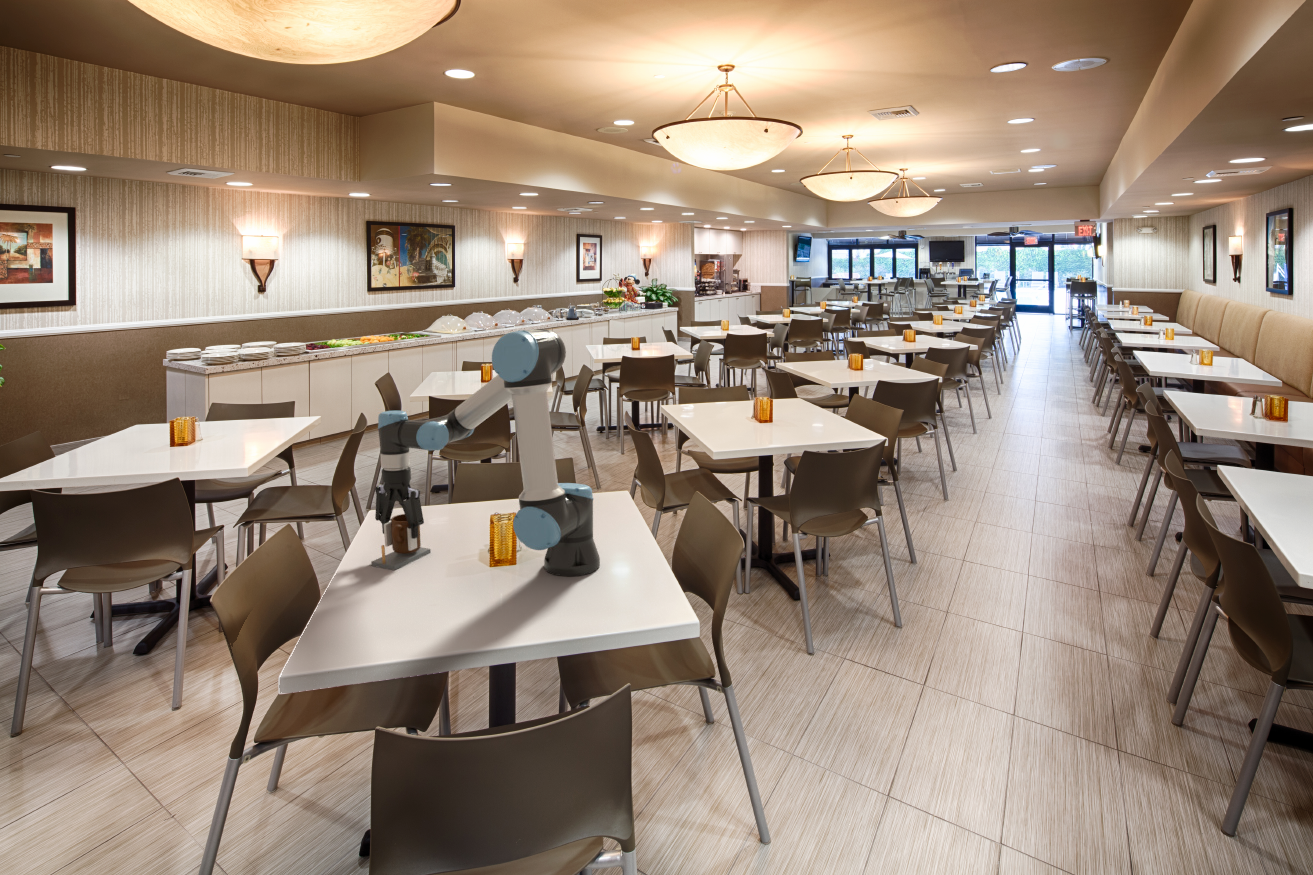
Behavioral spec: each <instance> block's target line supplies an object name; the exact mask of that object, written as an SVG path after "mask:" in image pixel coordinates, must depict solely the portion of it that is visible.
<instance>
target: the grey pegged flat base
mask: <svg viewBox="0 0 1313 875" xmlns="http://www.w3.org/2000/svg"><path fill="white" fill-rule="evenodd" d="M380 547H381V557H379V558H376V559H374V560H372V561H371V567H377V568H380V569H387V570H392V571H396V570H398V569H400V568H403V567H405V566H406V565H408V564H411V563H412V562H415V561H417V560H419V559H422V558H423V557H425V556H428V555H429V554H431V553H432V552H431V548H428V547H427V548H426V547H422V546H420V549H419V550H417V551H415V552H412V553H396V552H394V551H392V552H390V553H388V554H386V550H385V548H386V546H385V544H382V545H381V546H380Z"/></svg>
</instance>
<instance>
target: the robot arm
mask: <svg viewBox="0 0 1313 875" xmlns="http://www.w3.org/2000/svg"><path fill="white" fill-rule="evenodd" d="M566 355H567V351H566V346H565V343H564V341H563V340H562V338H561V337H560V335H558V334H557V333H556V332H555V331H552V330H549V329H545V328H540V329H528V330H527V329H526V330H523V329H522V330H520V329H519V330H515V331H512V332H507V333H505V334H504V335H502V336H501V337H500V338H499V339H498V340H497V341H496V342H495V344H494V346H493V348H492V352H491V364H492V365H491V366H492V367H493V370H494V372H495V374H496V375H495V376H494V377H493V378H492V379H491V380H490V381H488V382H487V383H485V384H484V385H483V386H482V387H480V389H478V390H476V391H475V392H474V393H473V394H472V395H470V396H469V397H468V398H466V399H465V400H464V401H463V402H461V403H460V404H459V405H457V406H456V408H454V409H453V410H451V411H450V412H449V413H448V414H446V415H442V416H438V417H433V418H430V419H426V420H413V419H409V417H408V414H407V411H403V410H386V411H381V412H380V413H379V414H378V418H377V420H378V421H377V423H378V424H377V429H378V430H377V431H378V438H379V449H380V450H379V452H380V453H379V454H380V467H381V468H382V469H381V471H380V472H381V481H382V483H383V484H380V485H377V486H375V487H374V491H375V496H376V497H375V514H374V516H375V521H379V522H380V523H381V527H382V528H381V529H382V534H383V535H384V546H385V548H388V547H390V546H392V534H391V519H392V515H393V511H394V507H395V505H396V504H395V503H396V502H398V503H399V505H400V507H402V508H401V509H402V510H403V514H405V516H406V518H407V521H408V524H409V527H408V528H407V534H408V550H409V551H411V550H413V549H416V548H417V537H418V526H419V525H420V526H421V525H424V524H425V521H424V520H425V519H424V514H423V510H422V504H421V499H420V498H421V490H420V489H419V488H418V489H414V488H412V486H411V480H412V472H411V467H410V465H411V460H410V459H411V457H410V454H411V453H410V449H414V450H424V451H430V452H431V451H440V450H443V449H444V447H445V446H447V444H450V443H452V442H456V441H462V440H465V439H466V438H468V437H470V436H471V435H472V434H473V433H474V432H475V429H476V427H478V426H479V425H480V424H481V423H483V422H484V421H486V419H488V418H489V417H491V416H492V415H494V414H495V413H496V412H497V411H499V410H500V409H501V408H503V407H504V406H505V405H507V404H508V403H509V402H511V401H512V406H513V407H512V408H513V414H514V423H515V430H516V438H517V446H518V454H519V462H520V463H519V464H520V469H521V471H520V472H521V478H522V484H523V489H522V491H521V493H519V496H518V504H519V510H518V511H517V512H516V514H515V515H514V518H513V523H512V526H513V532H514V533H515V536H516V537H517V539H518V540H519V541H520V542H521V543H522V544H523V545H524V546H525V547H526V548H529V549H531V550H535V551H544V550H546V553H545V555H544V559H543V562H544V563H543V566H544V570H545V571H546V572H548V573H549V574H552V575H556V576H560V577H561V576H562V577H575V576H577V577H578V576H583V575H587V574H591V573H593V571H594V570H595V571H597V570H598V569H599V568H600V567H599V566H601V564H600V562H601V557H600V553H599V552H598V548H597V546H596V542H595V540H594V497H593V490H592V487H590V486H589V485H587V484H584V483H583V484H581V483H574V482H573V483H572V482H558V481H559V480H558V474H557V472H558V471H557V466H556V465H557V464H556V457H555V448H554V447H555V446H554V439H553V433H552V432H553V431H552V424H551V416H550V407H549V399H548V390H549V388H551V386H552V384H553V380H552V379H553V378H552V375H553V374H555V373H556V372H558V371H559V370H560V369H561V368H562V366H563V364H564V363H565V359H566ZM413 522H414V523H413ZM597 568H598V569H597ZM596 569H597V570H596ZM595 571H594V572H595Z"/></svg>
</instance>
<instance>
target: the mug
mask: <svg viewBox="0 0 1313 875" xmlns="http://www.w3.org/2000/svg"><path fill="white" fill-rule="evenodd" d="M390 520H391V534H392V545H391V546H392V552H396V553H412V552H415V551H417V550H419V549H420V547H422V546H421V545H422V543H421V528H420V527H421V525H419V526H418V537H417V548H416V549H413V550H411V551H409V550H408V534H407V528H408V527H409V524H408V521H407V518H406V516H405V513H401V514H397V515H394V516H391V519H390ZM413 523H414V522H413Z"/></svg>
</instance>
